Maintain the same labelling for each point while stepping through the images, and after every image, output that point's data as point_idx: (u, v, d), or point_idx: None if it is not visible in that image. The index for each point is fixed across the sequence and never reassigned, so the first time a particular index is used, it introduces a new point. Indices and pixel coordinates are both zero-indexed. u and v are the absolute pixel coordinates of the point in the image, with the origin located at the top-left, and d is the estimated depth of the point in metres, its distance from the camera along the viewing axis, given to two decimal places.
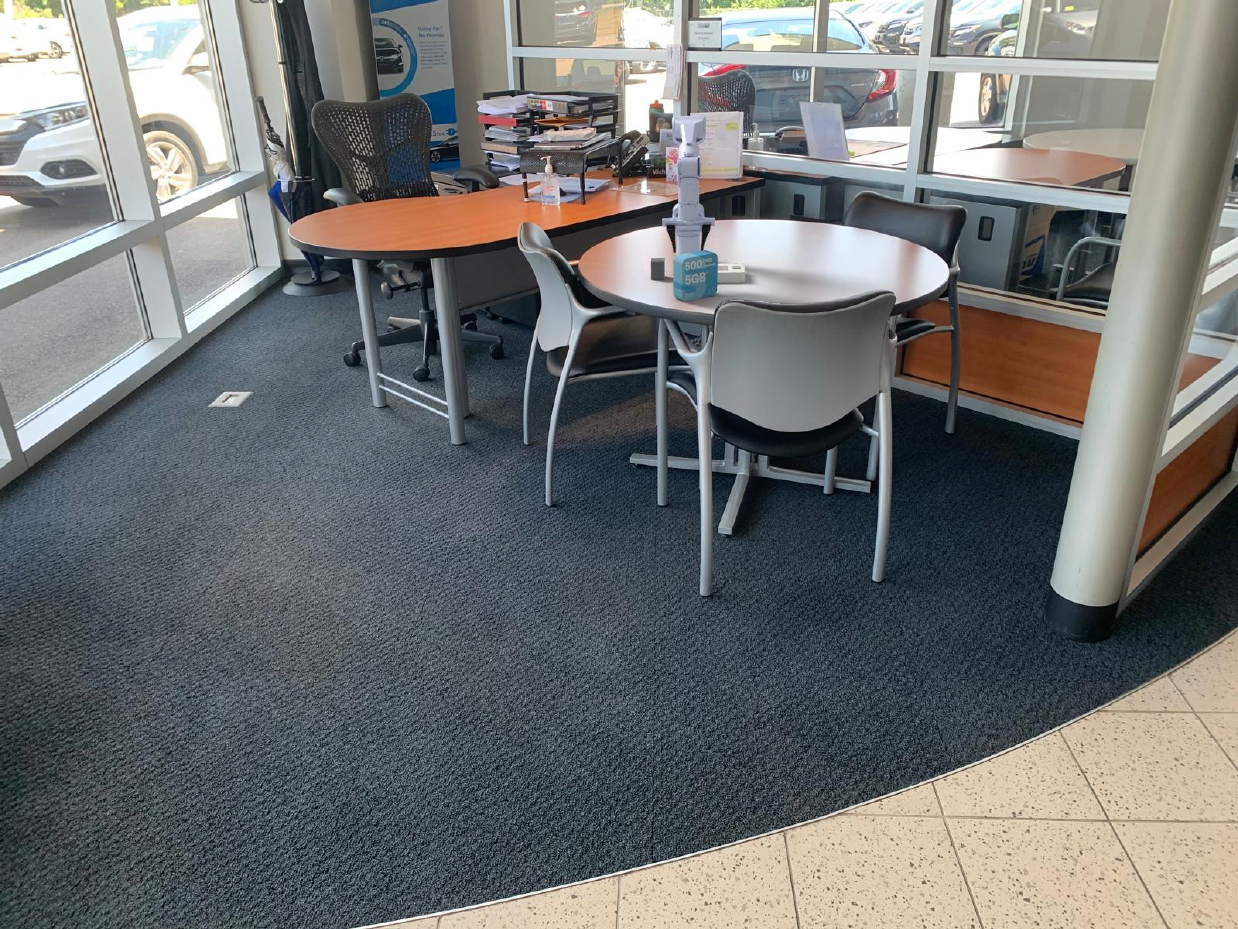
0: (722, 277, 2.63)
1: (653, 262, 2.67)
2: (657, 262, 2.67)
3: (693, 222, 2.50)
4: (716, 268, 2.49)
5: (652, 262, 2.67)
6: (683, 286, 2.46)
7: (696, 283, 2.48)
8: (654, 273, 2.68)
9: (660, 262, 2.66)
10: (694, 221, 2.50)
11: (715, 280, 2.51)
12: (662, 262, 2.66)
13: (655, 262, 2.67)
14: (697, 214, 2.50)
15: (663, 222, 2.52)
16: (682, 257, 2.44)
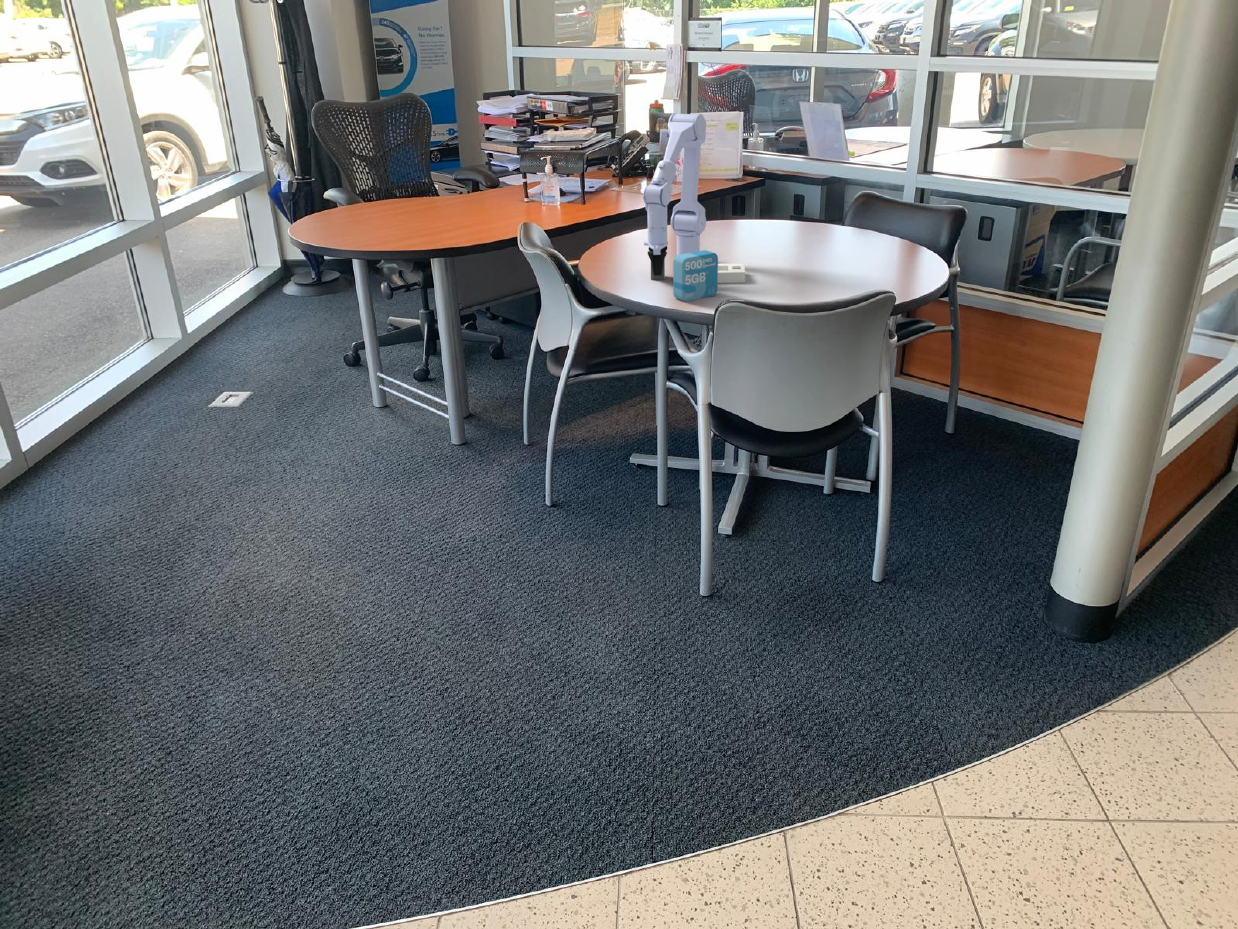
0: (722, 277, 2.63)
1: None
2: None
3: (647, 244, 2.65)
4: (716, 268, 2.49)
5: None
6: (683, 286, 2.46)
7: (696, 283, 2.48)
8: None
9: None
10: (648, 244, 2.65)
11: (715, 280, 2.51)
12: None
13: None
14: (652, 239, 2.63)
15: None
16: (682, 257, 2.44)
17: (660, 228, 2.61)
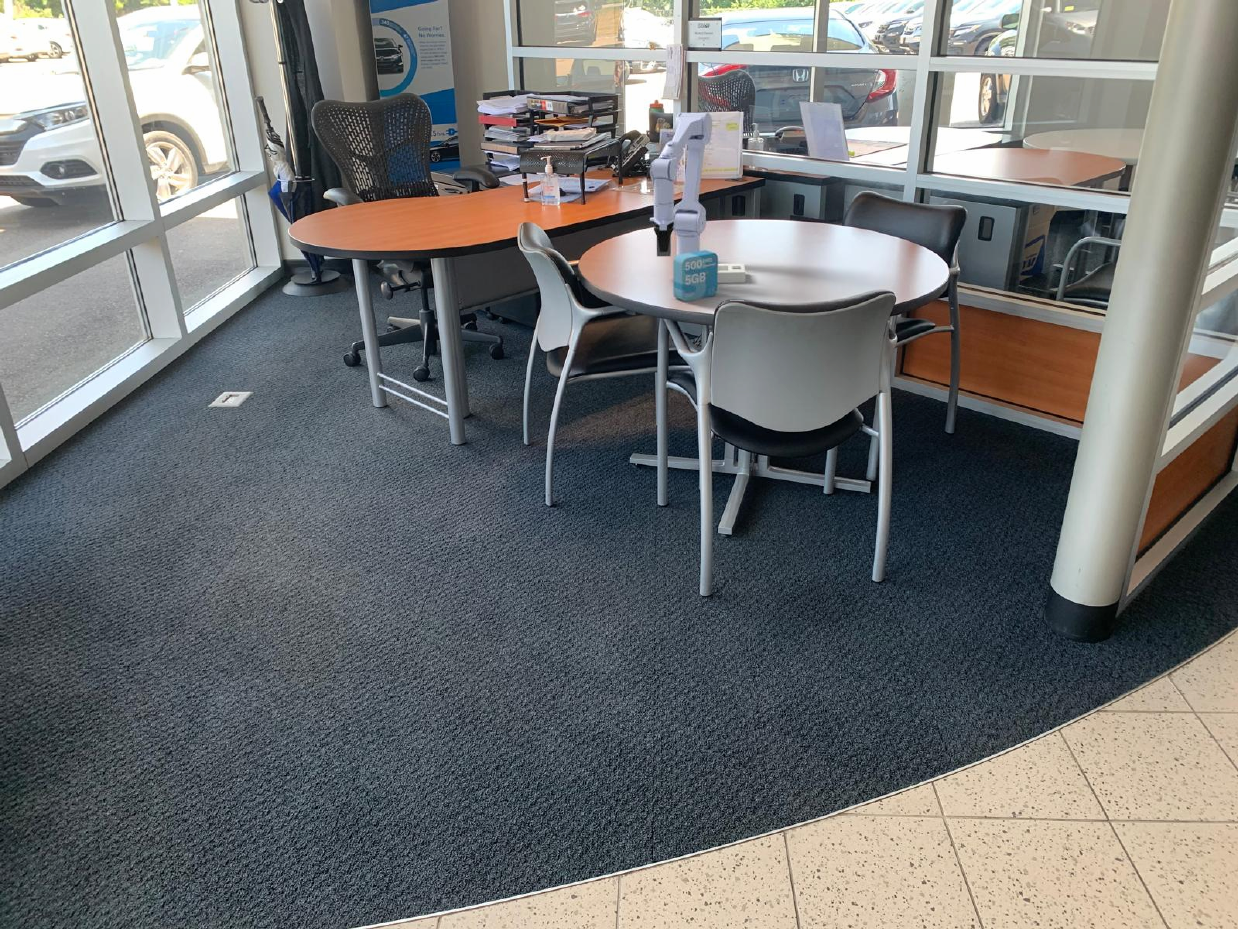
0: (722, 277, 2.63)
1: None
2: None
3: (654, 220, 2.62)
4: (716, 268, 2.49)
5: None
6: (683, 286, 2.46)
7: (696, 283, 2.48)
8: None
9: None
10: (654, 220, 2.61)
11: (715, 280, 2.51)
12: None
13: None
14: (659, 215, 2.60)
15: None
16: (682, 257, 2.44)
17: (666, 203, 2.58)
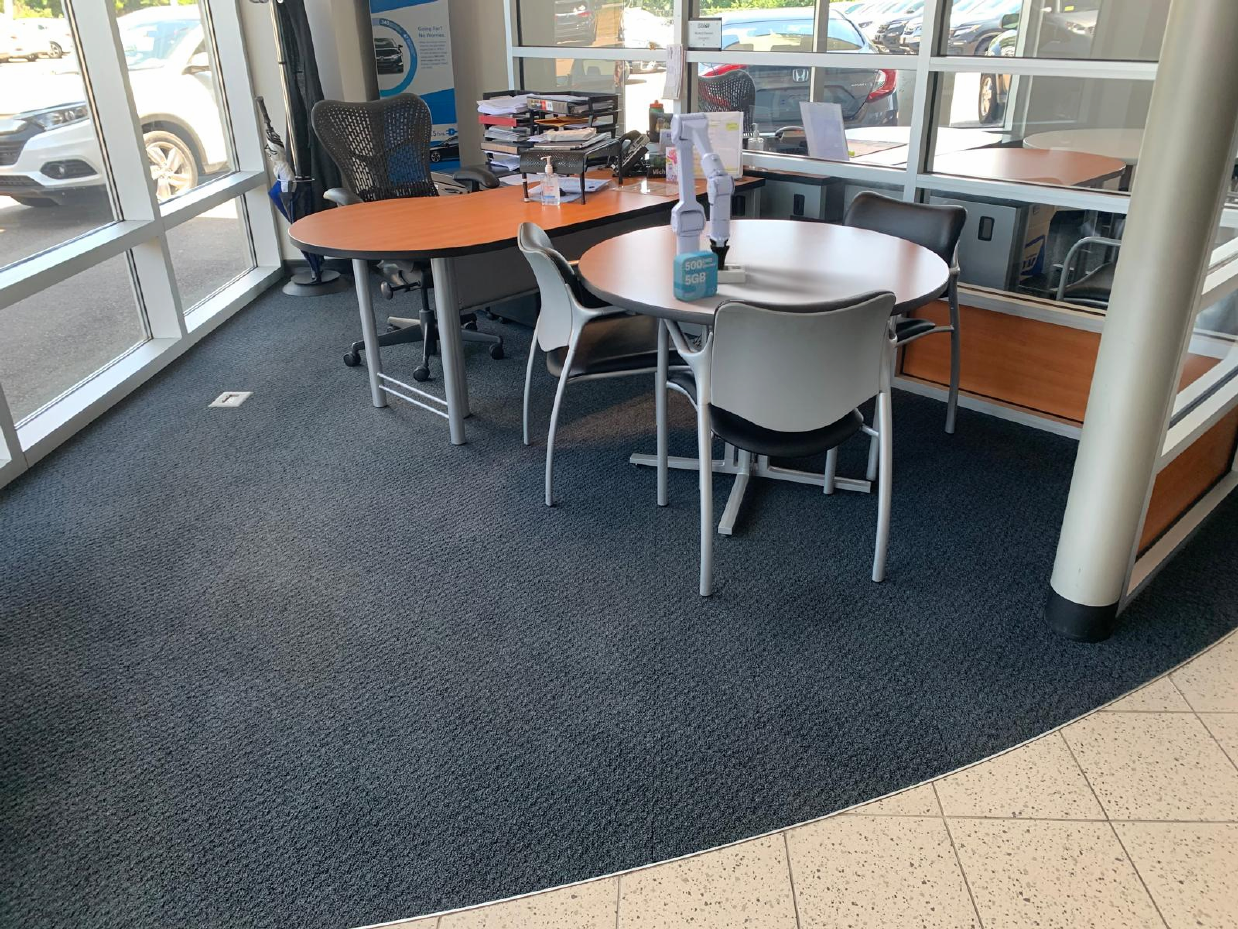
0: (722, 277, 2.63)
1: None
2: None
3: (710, 237, 2.62)
4: (716, 268, 2.49)
5: None
6: (683, 286, 2.46)
7: (696, 283, 2.48)
8: None
9: None
10: (710, 236, 2.61)
11: (715, 280, 2.51)
12: None
13: None
14: (715, 231, 2.60)
15: None
16: (682, 257, 2.44)
17: (723, 220, 2.58)
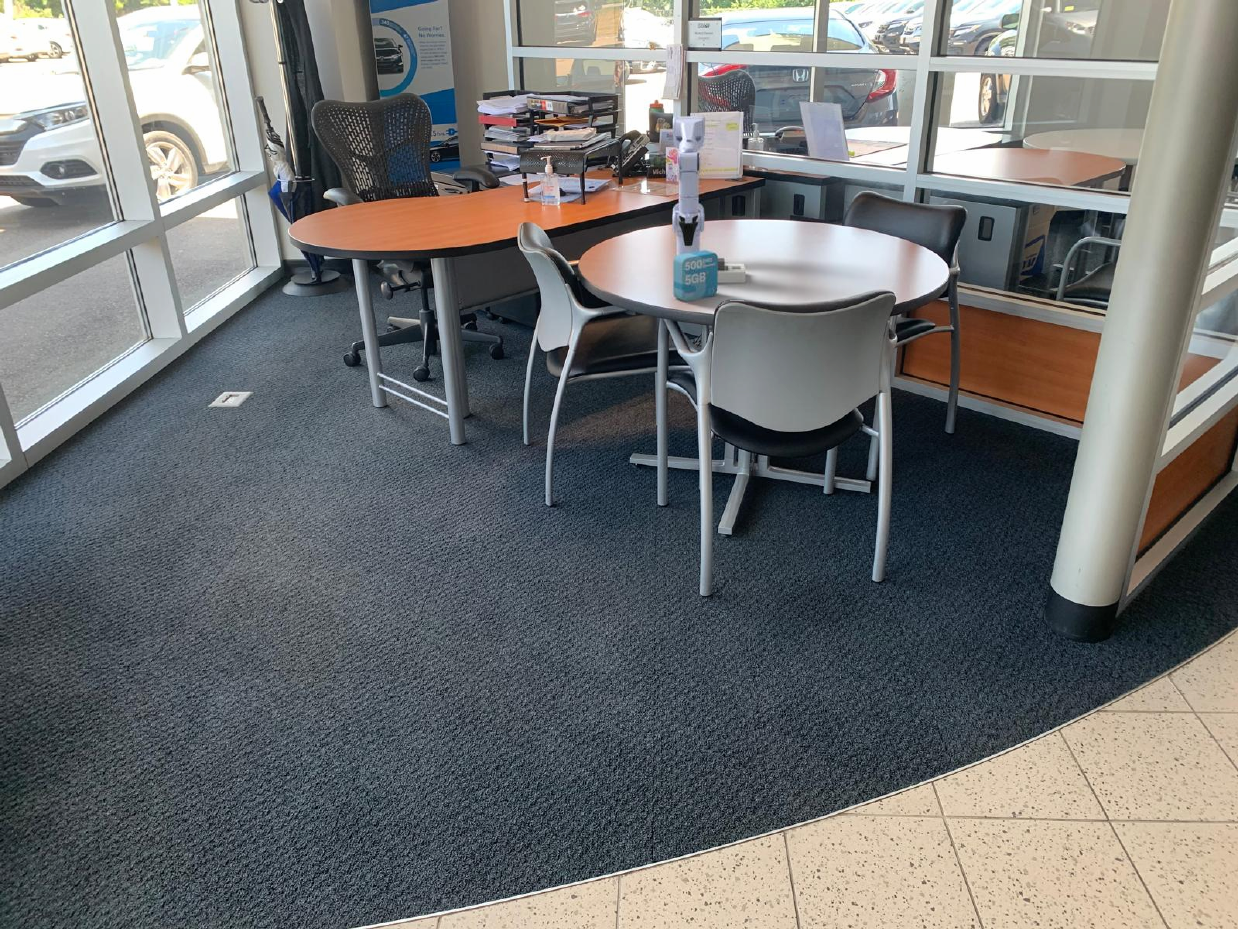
0: (722, 277, 2.63)
1: None
2: None
3: (678, 213, 2.64)
4: (716, 268, 2.49)
5: None
6: (683, 286, 2.46)
7: (696, 283, 2.48)
8: None
9: (720, 262, 2.64)
10: (679, 213, 2.64)
11: (715, 280, 2.51)
12: (722, 262, 2.64)
13: None
14: (684, 208, 2.62)
15: None
16: (682, 257, 2.44)
17: (692, 196, 2.61)
